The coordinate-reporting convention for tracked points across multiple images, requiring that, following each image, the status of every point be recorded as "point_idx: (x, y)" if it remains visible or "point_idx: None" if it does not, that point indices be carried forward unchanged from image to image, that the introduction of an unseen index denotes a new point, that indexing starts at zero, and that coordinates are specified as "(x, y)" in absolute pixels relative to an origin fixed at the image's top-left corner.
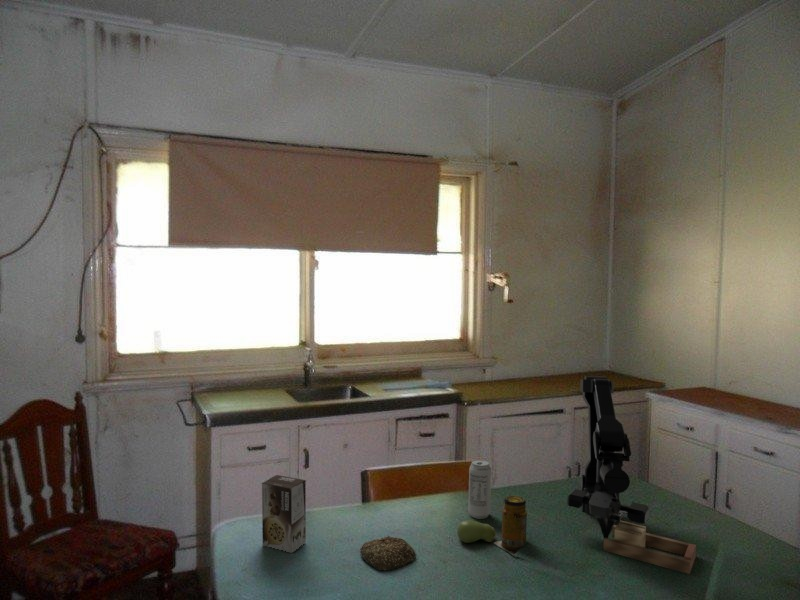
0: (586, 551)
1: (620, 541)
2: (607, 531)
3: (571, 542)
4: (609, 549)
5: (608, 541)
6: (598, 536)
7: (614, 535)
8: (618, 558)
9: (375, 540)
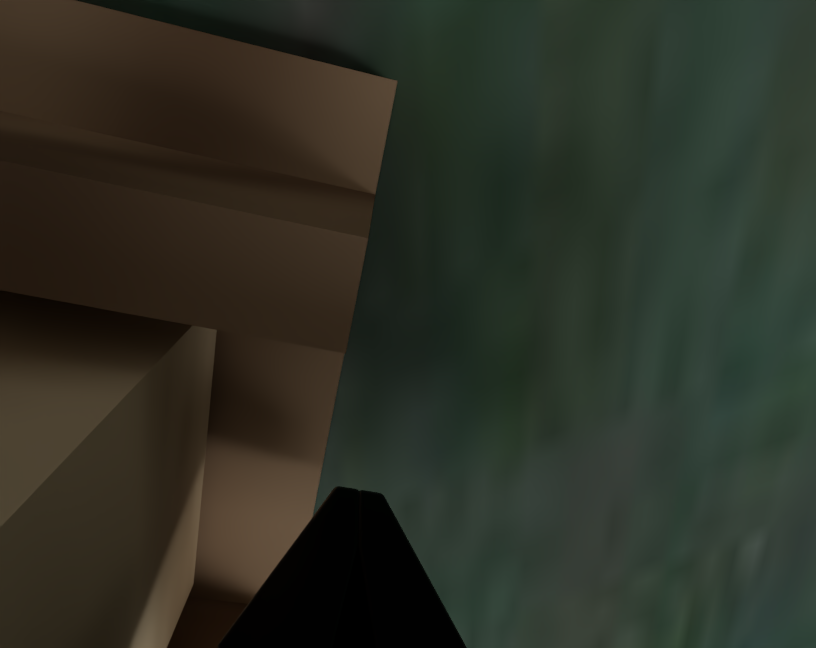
0: (603, 220)
1: (9, 345)
2: (314, 589)
3: (765, 392)
4: (265, 180)
5: (251, 204)
6: None
7: None
8: None
9: None
